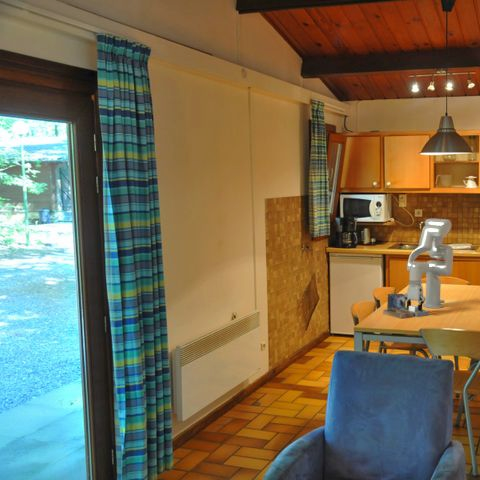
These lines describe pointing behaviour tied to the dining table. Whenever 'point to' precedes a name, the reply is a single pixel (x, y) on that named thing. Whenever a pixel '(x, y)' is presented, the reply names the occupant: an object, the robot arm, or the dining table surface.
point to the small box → (396, 301)
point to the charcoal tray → (418, 314)
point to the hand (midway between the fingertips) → (414, 309)
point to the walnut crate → (398, 313)
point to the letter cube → (413, 308)
